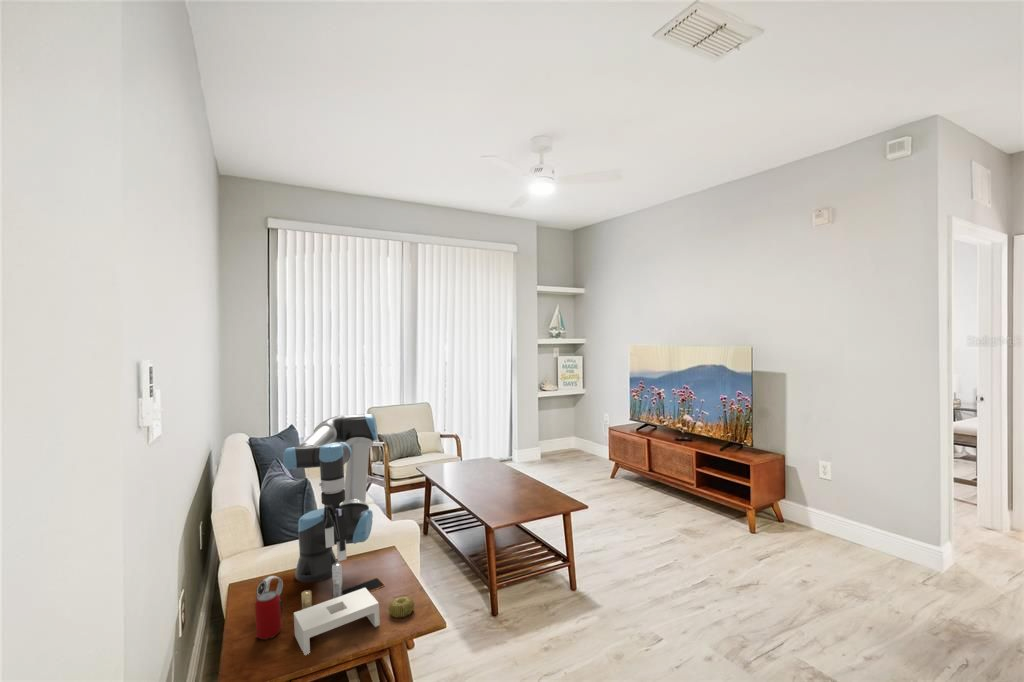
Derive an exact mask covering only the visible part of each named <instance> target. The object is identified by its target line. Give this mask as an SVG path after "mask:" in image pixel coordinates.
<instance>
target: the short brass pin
mask: <svg viewBox="0 0 1024 682" xmlns="http://www.w3.org/2000/svg"><path fill="white" fill-rule="evenodd" d="M300 594H301V610H303V609H306V608H308V607H311V606H313V598H312V596H313V595H312V590H310V589H307V590H306V589H305V590H304V591H302V592H301V593H300Z"/></svg>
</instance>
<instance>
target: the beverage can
mask: <svg viewBox="0 0 1024 682" xmlns="http://www.w3.org/2000/svg"><path fill="white" fill-rule="evenodd" d="M280 600H281V598H280V596H279V595H278V594H277V592H276V590H269V591H267V592H264V593H262V594H260V595H259V596H258V597H257V598H256V601H255V603H254V609H255V610H254V611H255V626H256V627H255V628H256V632H255V633H256V637H257V638H258V639H261V640H269V638H270V639H272V638H274V637H276V636H277V635H278V634H279V633H280V632H281V630H282V615H281V612H282V611H280Z"/></svg>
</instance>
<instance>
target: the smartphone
mask: <svg viewBox="0 0 1024 682" xmlns="http://www.w3.org/2000/svg"><path fill="white" fill-rule="evenodd" d="M384 585H385V583H383V582H382V581H381V580H380V579H379V578H378V577H376V578H373V579H369V580H368V581H364V582H362V583H359V584H357V585H353V586H351V587H349V588H345V589H343V595H345V594H348V593H351V592H354V591H357V590H359V589H362V588H366V589H367V590H368V591H369V592H370V591H372V590H375V589H377V588H380V587H382V586H384ZM382 588H383V587H382ZM380 589H381V588H380ZM375 591H376V590H375ZM372 592H373V591H372ZM370 593H371V592H370ZM331 595H332V597H333V593H332V594H331Z"/></svg>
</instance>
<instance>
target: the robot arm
mask: <svg viewBox="0 0 1024 682" xmlns="http://www.w3.org/2000/svg"><path fill="white" fill-rule="evenodd" d="M310 434H311V433H310ZM378 438H379V434H378V425H377V420H376V418H375V416H374V414H371V413H363V414H346V415H337V416H333V417H330V418H328V419H326V420H324V421H322V422H320V423H318V425H316V427H315V428H314V430H313V432H312V434H311V435H309V436H308V437H307V438H306V439H304V441H303V442H302V443H300V444H299V445H298V446H293V447H287V448H285V449H284V451H283V455H282V463H283V467H284V468H285V469H287V470H299V469H300V470H301V469H311V468H319V470H320V471H319V473H320V475H319V476H320V482H319V485H318V486H320V490H321V494H320V497H321V504H322V505H324V506H323V507H324V508H323V507H322V508H318V509H314V510H311V511H309V512H306V513H304V514H303V515H302V516H300V518H299V519H298V522H297V523H298V529H297V532H298V533H297V534H298V548H299V549H298V550H299V556H298V557H299V558H298V561H297V565H296V567H295V579H296V580H297V582H300V583H316V582H319V581H324V580H326V579H328V578H330V577H332V564H334V563H337V562H341V561H344V560H348V559H347V557H348V556H347V555H348V554H347V545H349V544H354V545H356V544H358V543H364V542H366V541H367V540H368V539H369V537H370V535H371V532H372V528H373V515H374V514H373V511H372V510H371V509H369V508H370V506H369V505H368V503H366V499H367V498H366V497H367V484H368V469H369V459H370V458H369V456H370V449H371V447H373V446H374V441H377V440H378ZM345 464H346V467H345ZM344 467H345V468H346V470H345V468H344ZM335 546H336V555H335V553H334V550H333V547H335ZM336 557H337V558H336Z"/></svg>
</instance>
